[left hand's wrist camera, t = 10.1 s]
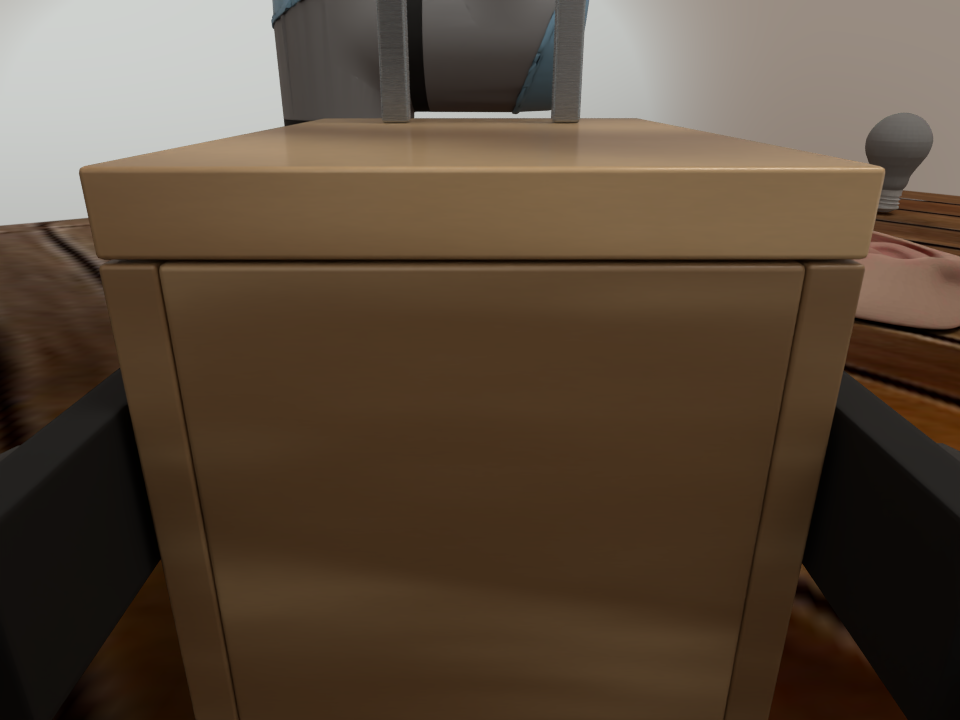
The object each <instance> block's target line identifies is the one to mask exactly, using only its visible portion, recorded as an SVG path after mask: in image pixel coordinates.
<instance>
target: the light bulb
mask: <svg viewBox="0 0 960 720" xmlns="http://www.w3.org/2000/svg"><path fill="white" fill-rule="evenodd" d="M932 143H933V134H932V131H931V128H930V126H929V125H928V123H927V122H926V121H925V120H924V119H923V118H921V117H919V116H917V115H914V114H911V113H898V114H894V115H891V116H888V117H886V118H884V119H883V120H881V121H880V122H879V123H878V124H877V125H876V126H875V127H874V128H873V129H872V130H871V132H870V133H869V135H868V137H867V139H866V145H865V151H866V156H867V158H868V161H869V164H872V165H877V166H881V167H883V168H884V169H885V177H884V182H883V186H882V191H881V196H880V200H879V205H878V210H877V211H879V212H891V211H893V210H895V209H898V208H899V206H897V204H899V203H898V200H900V199H899V196H901V194H902V191H903V189H904V188H905V187H906V185H907V184H908V181H909V178H910V176H911V175H912V173H913V172H914V171H915V169H916V168H917V167H918V166H919V165H920V164H921V163H922V161H923V160H924V159H925V158H926V157H927V155H928V154H929V152H930V149H931V147H932Z"/></svg>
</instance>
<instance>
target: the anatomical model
mask: <svg viewBox="0 0 960 720" xmlns="http://www.w3.org/2000/svg"><path fill="white" fill-rule="evenodd" d="M854 261H856V262H858V263H860V264H863V265H864V266H865V273H864V277H863V282H862V286H861V291H860V296H859V300H858V305H857V310H856V314H855V318H860V319H865V320H871V321H876V322H882V323H888V324H893V325H900V326H907V327H914V328H923V329H938V330H942V329H952V328H956V327H959V326H960V257H959V256H956V255H953V254H949V253H945V252H942V251H938V250H935V249H932V248H928V247H925V246H922V245H919V244H916V243H913V242H910V241H907V240H904V239H900V238H897V237H894V236H890V235H886V234H883V233H879V232H875V231H873V233H872V238H871V242H870V247H869V251H868V255H867V257H866V258H863V259H860V260H854Z"/></svg>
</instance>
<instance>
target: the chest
mask: <svg viewBox="0 0 960 720" xmlns="http://www.w3.org/2000/svg"><path fill="white" fill-rule="evenodd" d="M99 271H100V275H101V280H102V285H103V289H104V294H105V299H106V303H107V308H108V313H109V318H110V322H111V327H112V332H113V336H114V341H115V346H116V350H117V355H118V360H119V364H120V369H121V374H122V378H123V383H124V388H125V392H126V397H127V402H128V406H129V411H130V416H131V420H132V425H133V430H134V435H135V439H136V444H137V449H138V453H139V458H140V463H141V467H142V472H143V477H144V481H145V486H146V491H147V495H148V500H149V505H150V509H151V514H152V519H153V523H154V528H155V533H156V537H157V542H158V547H159V552H160V556H161V561H162V566H163V570H164V575H165V580H166V584H167V589H168V594H169V598H170V603H171V608H172V612H173V617H174V622H175V626H176V631H177V636H178V640H179V645H180V650H181V654H182V659H183V664H184V668H185V673H186V678H187V683H188V687H189V692H190V697H191V701H192V706H193V711H194V715H195V720H768V717H769V712H770V708H771V703H772V699H773V694H774V689H775V685H776V680H777V675H778V671H779V666H780V662H781V657H782V652H783V648H784V643H785V638H786V634H787V629H788V624H789V620H790V615H791V611H792V606H793V601H794V597H795V592H796V587H797V583H798V578H799V574H800V569H801V564H802V560H803V555H804V550H805V546H806V541H807V537H808V532H809V527H810V523H811V518H812V513H813V509H814V504H815V499H816V495H817V490H818V486H819V481H820V476H821V472H822V467H823V462H824V458H825V453H826V449H827V444H828V439H829V435H830V430H831V425H832V421H833V416H834V412H835V407H836V402H837V398H838V393H839V388H840V384H841V379H842V374H843V370H844V365H845V361H846V356H847V351H848V347H849V342H850V337H851V333H852V328H853V324H854V319H855V314H856V310H857V305H858V300H859V296H860V291H861V286H862V282H863V277H864V273H865V266H864V265H863V264H860V263H858V262H856V261H854V260H111V261H109V262H107V263H104V264H102V265H100V269H99Z"/></svg>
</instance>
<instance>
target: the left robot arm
mask: <svg viewBox="0 0 960 720" xmlns="http://www.w3.org/2000/svg"><path fill="white" fill-rule="evenodd" d="M160 559H161V556H160V552H159V547H158V542H157V537H156V533H155V528H154V523H153V519H152V514H151V509H150V505H149V500H148V495H147V491H146V486H145V481H144V477H143V472H142V467H141V463H140V458H139V453H138V449H137V444H136V439H135V435H134V430H133V425H132V420H131V416H130V411H129V406H128V402H127V397H126V392H125V388H124V383H123V378H122V374H121V369H120V368H119V369H118V370H117V371H115V372H114V373H113V374H111V375H110V376H109V377H108V378H106V379H105V380H104V381H103V382H101V383H100V384H99V385H97V386H96V387H95V388H94V389H92V390H91V391H90V392H88V393H87V394H86V395H85V396H83V397H82V398H81V399H80V400H78V401H77V402H76V403H74V404H73V405H72V406H71V407H69V408H68V409H67V410H65V411H64V412H63V413H62V414H60V415H59V416H58V417H57V418H55V419H54V420H53V421H51V422H50V423H49V424H48V425H46V426H45V427H44V428H42V429H41V430H40V431H39V432H37V433H36V434H35V435H34V436H32V437H31V438H30V439H28V440H27V441H26V442H25V443H23V444H22V445H21V446H17V447H15V448H12V449H10V450H8V451H6V452H4V453H2V454H0V720H52V719H53V718H54V716H55V715H56V713H57V712H58V710H59V709H60V707H61V706H62V704H63V703H64V701H65V700H66V698H67V697H68V695H69V694H70V692H71V691H72V689H73V688H74V686H75V685H76V683H77V682H78V681H79V679H80V678H81V676H82V675H83V673H84V672H85V670H86V669H87V667H88V666H89V664H90V663H91V661H92V660H93V658H94V657H95V655H96V654H97V652H98V651H99V649H100V648H101V646H102V645H103V644H104V642H105V641H106V639H107V638H108V636H109V635H110V633H111V632H112V630H113V629H114V627H115V626H116V624H117V623H118V621H119V620H120V618H121V617H122V615H123V614H124V612H125V611H126V609H127V608H128V607H129V605H130V604H131V602H132V601H133V599H134V598H135V596H136V595H137V593H138V592H139V590H140V589H141V587H142V586H143V584H144V583H145V581H146V580H147V578H148V577H149V575H150V574H151V572H152V571H153V570H154V568H155V567H156V565H157V564H158V562H159V561H160ZM802 564H803V565H804V567H805V568H806V570H807V571H808V572H809V574H810V575H811V577H812V578H813V580H814V581H815V583H816V584H817V586H818V587H819V589H820V590H821V592H822V593H823V595H824V596H825V598H826V599H827V601H828V602H829V604H830V605H831V607H832V608H833V609H834V611H835V612H836V614H837V615H838V617H839V618H840V620H841V621H842V623H843V624H844V626H845V627H846V629H847V630H848V632H849V633H850V635H851V636H852V638H853V639H854V641H855V642H856V644H857V645H858V646H859V648H860V649H861V651H862V652H863V654H864V655H865V657H866V658H867V660H868V661H869V663H870V664H871V666H872V667H873V669H874V670H875V672H876V673H877V675H878V676H879V678H880V679H881V681H882V682H883V683H884V685H885V686H886V688H887V689H888V691H889V692H890V694H891V695H892V697H893V698H894V700H895V701H896V703H897V704H898V706H899V707H900V709H901V710H902V712H903V713H904V715H905V716H906V718H907V719H908V720H960V451H958V450H956V449H953V448H951V447H949V446H947V445H945V444H943V443H935V442H934V441H933V440H932V439H930V438H929V437H928V436H926V435H925V434H924V433H923V432H921V431H920V430H919V429H918V428H916V427H915V426H914V425H912V424H911V423H910V422H909V421H907V420H906V419H905V418H903V417H902V416H901V415H900V414H898V413H897V412H896V411H895V410H893V409H892V408H891V407H889V406H888V405H887V404H886V403H884V402H883V401H882V400H880V399H879V398H878V397H877V396H875V395H874V394H873V393H872V392H870V391H869V390H868V389H866V388H865V387H864V386H863V385H861V384H860V383H859V382H857V381H856V380H855V379H854V378H852V377H851V376H850V375H849V374H847V373H846V372H845V371H843V374H842V379H841V384H840V388H839V393H838V398H837V402H836V407H835V412H834V416H833V421H832V425H831V430H830V435H829V439H828V444H827V449H826V453H825V458H824V462H823V467H822V472H821V476H820V481H819V486H818V490H817V495H816V499H815V504H814V509H813V513H812V518H811V523H810V527H809V532H808V537H807V541H806V546H805V550H804V555H803V560H802Z"/></svg>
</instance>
